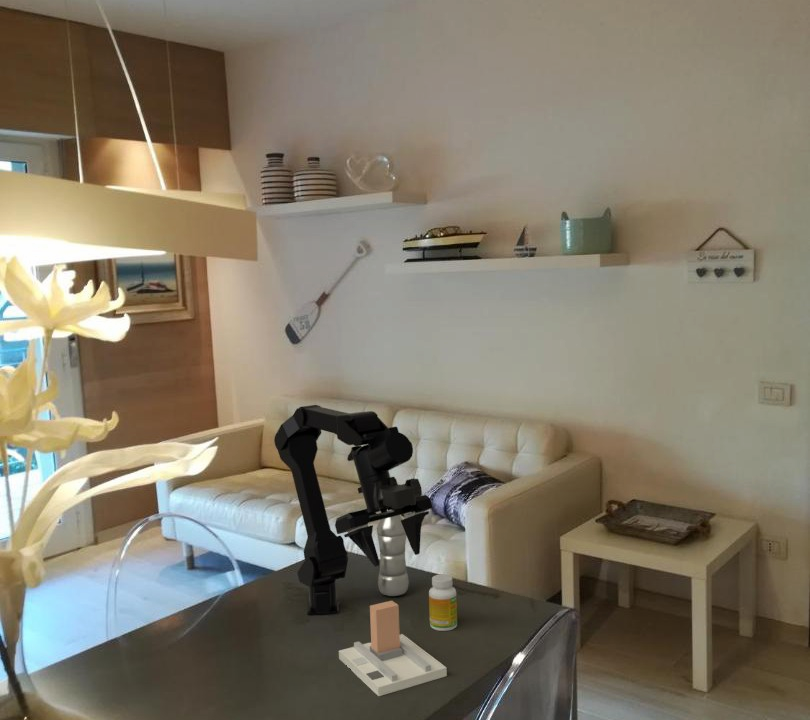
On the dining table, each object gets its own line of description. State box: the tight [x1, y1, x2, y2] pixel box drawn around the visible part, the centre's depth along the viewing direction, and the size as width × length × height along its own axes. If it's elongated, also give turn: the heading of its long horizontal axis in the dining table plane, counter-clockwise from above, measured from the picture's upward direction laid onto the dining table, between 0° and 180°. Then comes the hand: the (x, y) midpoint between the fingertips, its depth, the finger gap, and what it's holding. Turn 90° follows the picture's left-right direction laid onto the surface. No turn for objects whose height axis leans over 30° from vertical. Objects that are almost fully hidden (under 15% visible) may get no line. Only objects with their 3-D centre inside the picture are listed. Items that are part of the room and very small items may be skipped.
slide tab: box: [369, 600, 402, 661], centre depth 144 cm, size 4×4×9 cm
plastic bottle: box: [376, 509, 410, 597], centre depth 175 cm, size 6×7×20 cm
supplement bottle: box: [428, 573, 458, 632], centre depth 158 cm, size 5×5×10 cm
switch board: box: [338, 633, 448, 697], centre depth 142 cm, size 16×13×2 cm
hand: (397, 560), depth 147 cm, fingers open, 9 cm apart
